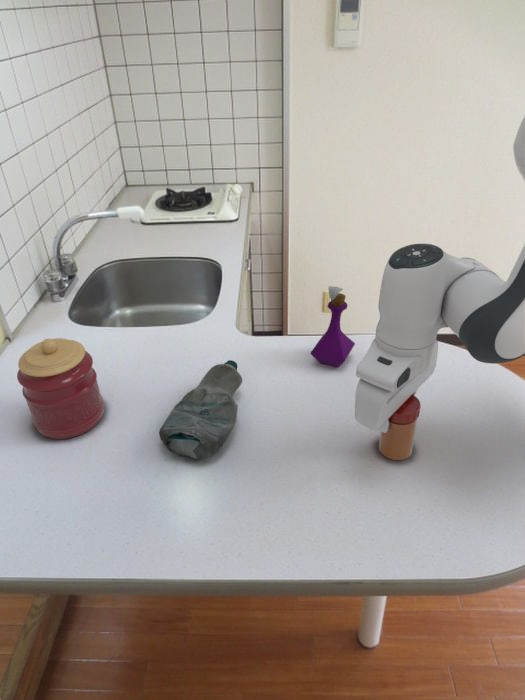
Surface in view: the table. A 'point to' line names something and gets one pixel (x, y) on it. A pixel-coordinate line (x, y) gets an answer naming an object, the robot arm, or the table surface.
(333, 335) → the purple potion bottle
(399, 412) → the jar lid
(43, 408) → the kitchen canister
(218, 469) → the table surface
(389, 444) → the jam jar
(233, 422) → the crushed plastic bottle
